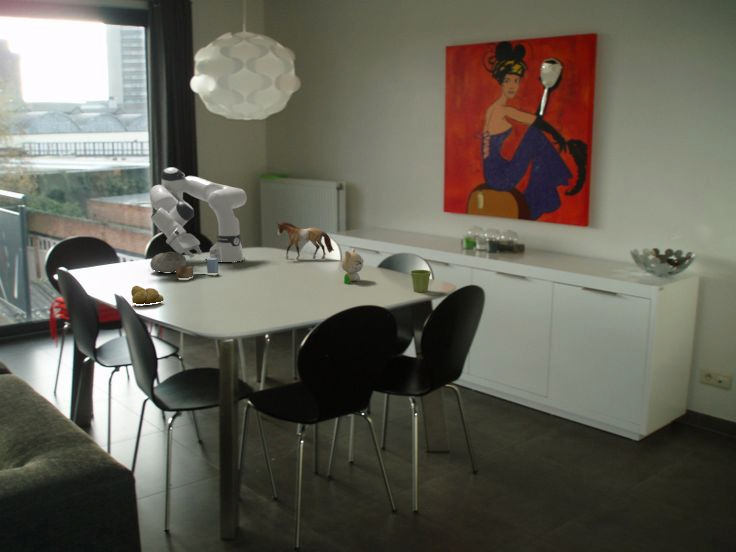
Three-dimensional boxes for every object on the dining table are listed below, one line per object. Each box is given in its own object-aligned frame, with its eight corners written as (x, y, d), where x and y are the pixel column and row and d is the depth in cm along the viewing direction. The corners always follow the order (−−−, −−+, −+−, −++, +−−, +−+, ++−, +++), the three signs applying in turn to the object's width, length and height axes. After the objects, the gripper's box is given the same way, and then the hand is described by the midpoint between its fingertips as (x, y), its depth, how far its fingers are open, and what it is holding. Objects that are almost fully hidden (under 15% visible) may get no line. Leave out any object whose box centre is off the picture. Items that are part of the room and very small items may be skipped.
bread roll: (164, 301, 339) (163, 283, 337) (162, 307, 329) (161, 287, 328) (133, 303, 337) (131, 284, 335) (130, 308, 327) (128, 289, 326)
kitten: (357, 284, 368) (356, 252, 365) (336, 283, 371) (336, 251, 369) (367, 278, 382) (367, 247, 379) (347, 277, 385) (347, 246, 382)
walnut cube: (176, 280, 385) (176, 268, 384) (182, 277, 390) (181, 265, 389) (188, 280, 384) (187, 268, 382) (193, 278, 389) (193, 266, 388)
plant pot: (435, 290, 354) (435, 270, 353) (425, 294, 346) (425, 274, 345) (416, 288, 359) (416, 269, 357) (406, 292, 351) (406, 272, 349)
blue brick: (207, 275, 395) (206, 259, 394) (210, 274, 399) (209, 258, 397) (215, 275, 394) (214, 259, 393) (218, 274, 398) (217, 258, 397)
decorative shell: (143, 274, 400) (142, 254, 398) (163, 268, 417) (162, 249, 415) (175, 276, 395) (173, 256, 393) (193, 269, 411) (192, 250, 409)
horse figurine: (277, 260, 435) (275, 222, 431) (279, 258, 442) (278, 220, 438) (334, 260, 432) (333, 222, 428) (335, 258, 439) (335, 220, 435)
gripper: (182, 236, 406) (201, 256, 406) (164, 242, 387) (184, 263, 387) (190, 227, 404) (209, 247, 404) (172, 233, 385) (192, 254, 385)
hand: (196, 255), depth 395 cm, fingers open, 8 cm apart
